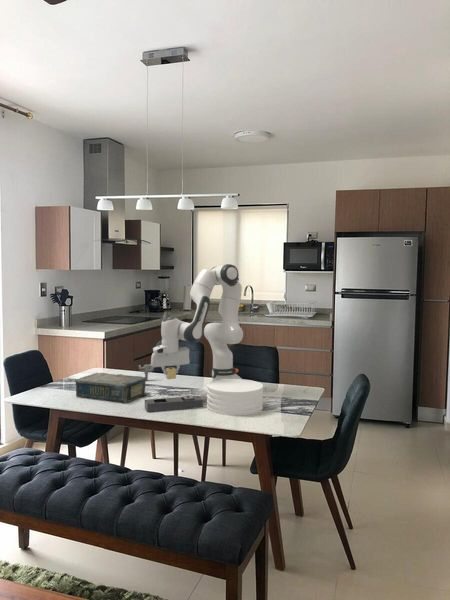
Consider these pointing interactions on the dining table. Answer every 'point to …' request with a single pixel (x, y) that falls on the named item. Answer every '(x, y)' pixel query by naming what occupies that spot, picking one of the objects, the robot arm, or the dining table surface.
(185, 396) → the grey knobbed square block
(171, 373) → the wooden cube with knob
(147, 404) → the rail
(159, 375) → the dining table surface
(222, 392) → the plate stack
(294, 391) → the dining table surface
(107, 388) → the metal box
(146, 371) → the mechanical component
